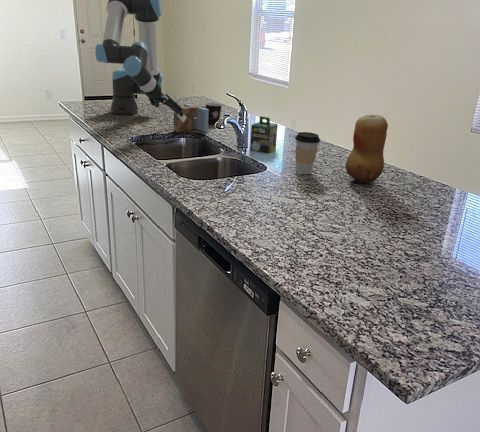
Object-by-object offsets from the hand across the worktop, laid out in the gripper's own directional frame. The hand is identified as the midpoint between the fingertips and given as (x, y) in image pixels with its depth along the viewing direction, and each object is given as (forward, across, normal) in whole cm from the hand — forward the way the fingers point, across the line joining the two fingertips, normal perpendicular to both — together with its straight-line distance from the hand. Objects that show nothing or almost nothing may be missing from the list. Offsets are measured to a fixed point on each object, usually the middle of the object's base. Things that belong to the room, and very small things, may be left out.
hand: (175, 117), depth 223 cm
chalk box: (+13, +46, +3) cm, 48 cm away
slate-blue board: (+14, 0, +4) cm, 15 cm away
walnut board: (+11, 0, +2) cm, 11 cm away
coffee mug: (+26, -6, +16) cm, 31 cm away
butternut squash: (+12, +97, +1) cm, 98 cm away
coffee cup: (+5, +77, -6) cm, 77 cm away
